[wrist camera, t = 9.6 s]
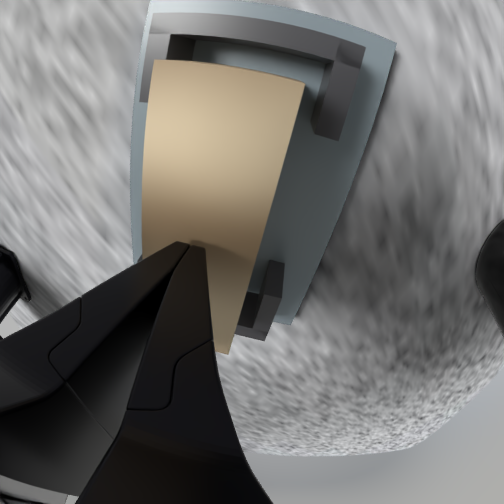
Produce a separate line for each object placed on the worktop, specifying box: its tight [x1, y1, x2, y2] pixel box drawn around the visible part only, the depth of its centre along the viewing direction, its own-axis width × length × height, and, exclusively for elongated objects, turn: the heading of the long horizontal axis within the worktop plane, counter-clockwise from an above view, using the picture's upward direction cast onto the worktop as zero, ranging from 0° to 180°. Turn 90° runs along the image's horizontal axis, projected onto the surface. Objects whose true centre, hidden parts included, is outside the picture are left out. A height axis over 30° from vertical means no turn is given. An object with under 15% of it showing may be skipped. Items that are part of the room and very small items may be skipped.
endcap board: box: [130, 0, 397, 341], centre depth 12 cm, size 16×10×4 cm, turn 169°
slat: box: [142, 60, 305, 355], centre depth 10 cm, size 10×4×5 cm, turn 168°
